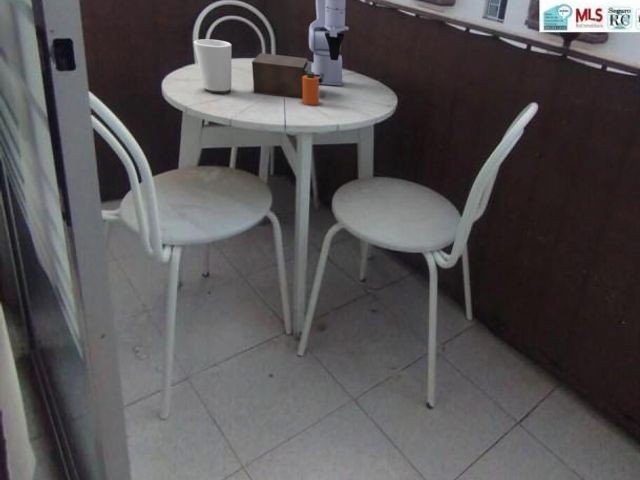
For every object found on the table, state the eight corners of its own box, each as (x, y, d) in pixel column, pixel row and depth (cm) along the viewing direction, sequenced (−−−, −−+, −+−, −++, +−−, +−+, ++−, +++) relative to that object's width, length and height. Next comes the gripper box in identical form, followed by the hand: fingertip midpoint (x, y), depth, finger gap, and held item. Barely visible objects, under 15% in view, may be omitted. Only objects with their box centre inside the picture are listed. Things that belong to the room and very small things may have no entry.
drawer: (325, 86, 165) (325, 64, 161) (321, 96, 155) (321, 72, 151) (268, 80, 163) (267, 57, 159) (262, 89, 153) (260, 65, 149)
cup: (193, 91, 146) (186, 42, 138) (210, 84, 154) (205, 37, 146) (225, 97, 145) (220, 48, 137) (241, 90, 153) (237, 43, 145)
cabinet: (308, 87, 165) (307, 58, 160) (303, 98, 154) (302, 67, 149) (262, 82, 163) (260, 52, 158) (254, 92, 152) (251, 61, 147)
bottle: (321, 103, 152) (321, 73, 147) (313, 106, 149) (313, 75, 144) (307, 100, 153) (307, 70, 148) (299, 103, 150) (299, 72, 145)
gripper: (348, 13, 142) (346, 66, 150) (350, 7, 153) (348, 56, 161) (322, 10, 141) (322, 63, 149) (326, 4, 152) (326, 54, 160)
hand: (334, 59), depth 155 cm, fingers closed
